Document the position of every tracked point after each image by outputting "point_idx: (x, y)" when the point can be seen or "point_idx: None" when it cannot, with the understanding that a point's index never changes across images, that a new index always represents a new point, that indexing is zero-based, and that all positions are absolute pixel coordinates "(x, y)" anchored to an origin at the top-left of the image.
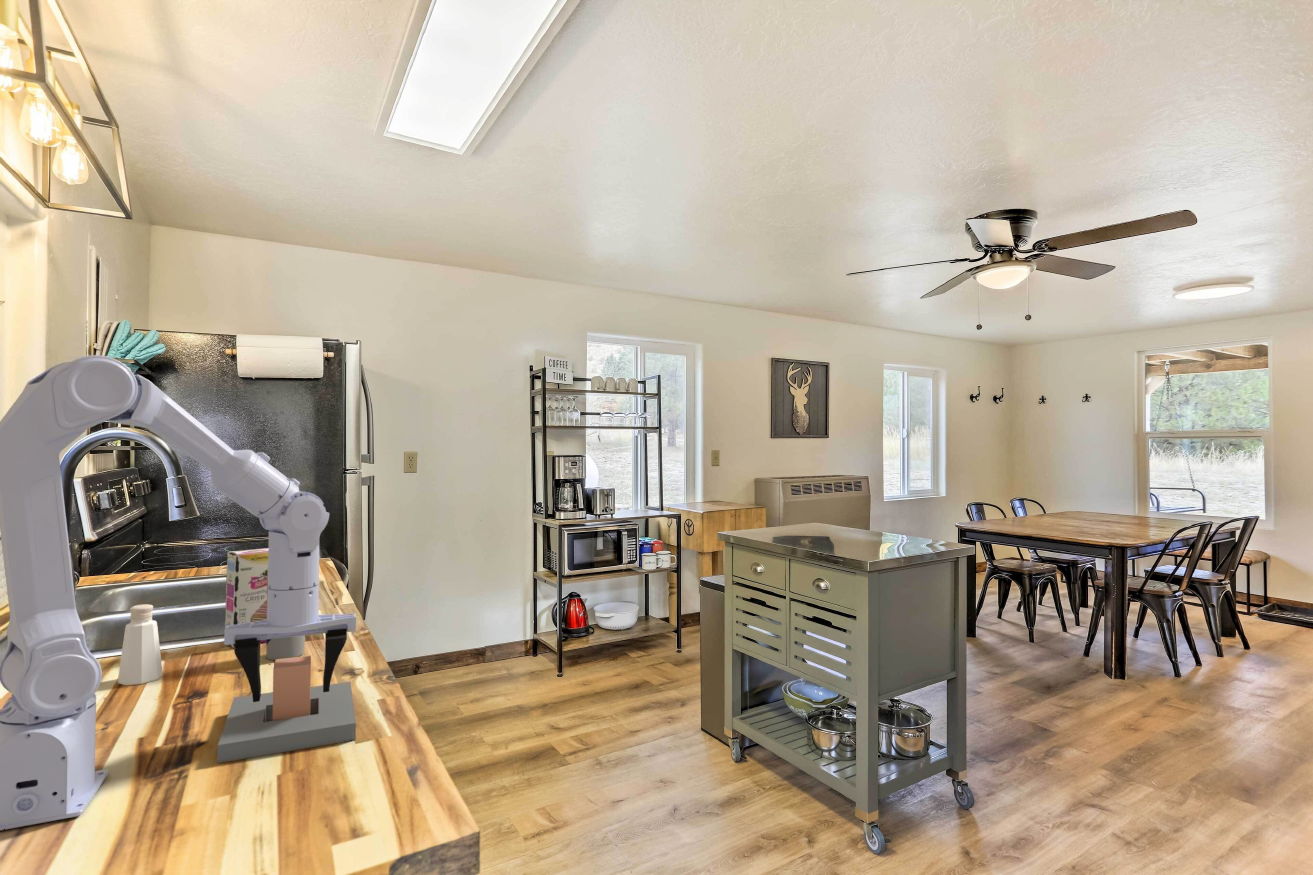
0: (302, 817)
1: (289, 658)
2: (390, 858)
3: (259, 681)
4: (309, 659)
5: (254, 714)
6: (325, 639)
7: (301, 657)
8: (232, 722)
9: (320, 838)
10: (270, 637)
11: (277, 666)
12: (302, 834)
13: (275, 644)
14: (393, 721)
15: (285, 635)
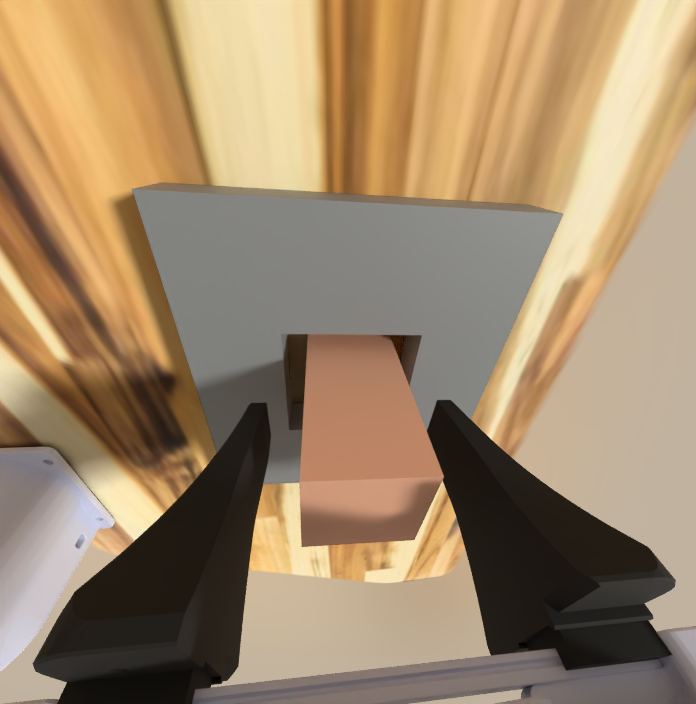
0: (348, 550)
1: (356, 483)
2: (397, 581)
3: (257, 463)
4: (425, 508)
5: (261, 385)
6: (520, 597)
7: (403, 486)
8: (219, 410)
9: (359, 566)
10: (271, 695)
11: (313, 535)
12: (347, 562)
13: None
14: (516, 410)
15: (348, 690)
